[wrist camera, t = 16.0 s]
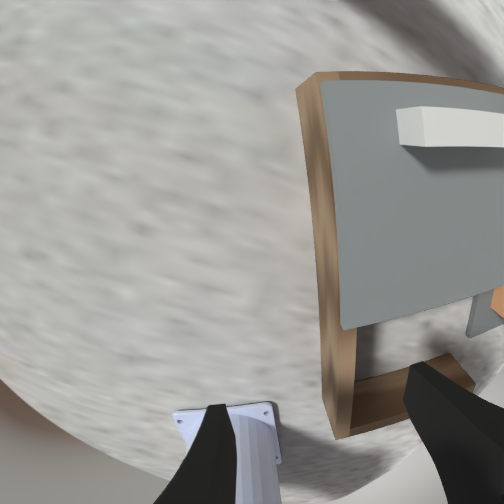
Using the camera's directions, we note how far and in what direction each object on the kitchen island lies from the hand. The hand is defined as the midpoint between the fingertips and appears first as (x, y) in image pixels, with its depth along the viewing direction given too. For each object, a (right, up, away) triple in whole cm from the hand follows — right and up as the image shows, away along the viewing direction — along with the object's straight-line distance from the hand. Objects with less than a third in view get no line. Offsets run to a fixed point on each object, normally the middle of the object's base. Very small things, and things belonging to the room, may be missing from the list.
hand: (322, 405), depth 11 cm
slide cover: (+7, +8, +2) cm, 11 cm away
